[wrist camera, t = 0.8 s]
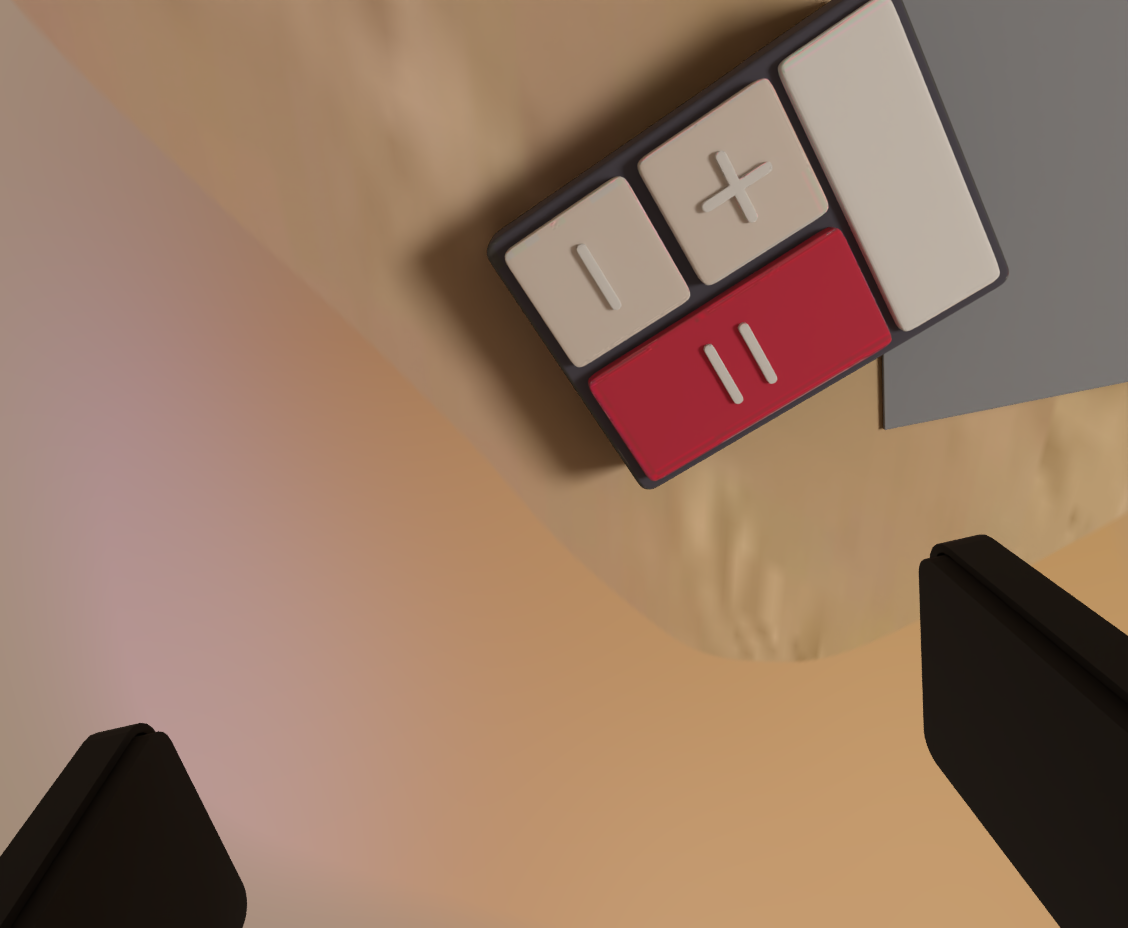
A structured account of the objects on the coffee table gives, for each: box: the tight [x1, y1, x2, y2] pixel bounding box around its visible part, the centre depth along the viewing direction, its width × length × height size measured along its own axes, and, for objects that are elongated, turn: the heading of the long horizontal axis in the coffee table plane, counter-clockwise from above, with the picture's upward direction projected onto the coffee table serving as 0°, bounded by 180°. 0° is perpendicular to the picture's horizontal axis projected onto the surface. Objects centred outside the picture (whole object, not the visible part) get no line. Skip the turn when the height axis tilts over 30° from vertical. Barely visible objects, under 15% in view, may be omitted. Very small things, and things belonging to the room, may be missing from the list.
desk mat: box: [882, 0, 1128, 430], centre depth 29 cm, size 16×15×1 cm
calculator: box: [487, 0, 1009, 489], centre depth 27 cm, size 11×4×15 cm
